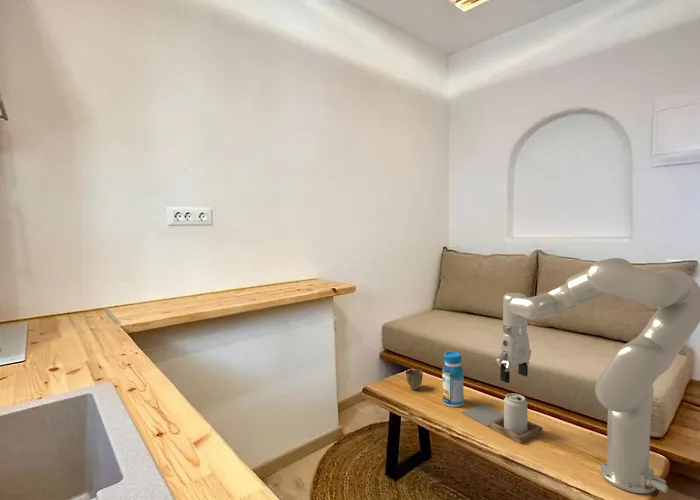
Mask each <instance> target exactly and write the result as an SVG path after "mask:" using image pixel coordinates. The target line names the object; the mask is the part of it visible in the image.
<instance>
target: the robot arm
mask: <svg viewBox="0 0 700 500" xmlns="http://www.w3.org/2000/svg"><path fill="white" fill-rule="evenodd" d="M607 295H609V296H613V297H614V298H615V297H616V298H620V299H622V300H626V301H629V302H632V303H635V304H639V305H643V306H646V307H650V308H656V309H657V308H658V309H657V310H656V311H655V313H653V315H652V316H651V318H649V321H648V322H647V323H646V326H645V327H644V328H643V330H642V331H641V332H640V333H639V334H638V335H637V337H635V338H634V339H632V340H630V341H628V342H627V343H625V344H624V345H621V347H619V349H618V350H617V351H616V352H615V353H614V355H613V356H612V358H611V360H610V361H609V363H608V364H607V366H606V367H605V368H604V370H603V371H602V372H601V374H600V376H599V377H598V379H597V380H596V383H595V386H594V387H595V388H594V391H595V395H596V398H597V400H598V402H599V403H600V404H601V406H602V407H604V408H605V409H607V429H606V430H607V432H606V433H607V434H606V436H607V437H606V438H607V440H606V444H607V445H606V456H607V457H606V458H607V459H606V461H605V462H604V463H602V464H601V466H600V470H599V471H600V474H601V476H602V477H603V478H604V479H605V480H606V481H607V482H608V483H609V484H611V485H613V486H615V487H617V488H618V489H621V490H623V491H627V492H630V493H633V494H634V493H635V494H642V495H644V494H651V493H653V492H655V491H656V490H658V491H660V492H662V493H664V494H667V492H668V489H669V487H668V485H667V481H666V480H665V479H662V478H661V477H658V476H656V474H655V473H654V471H655V469H654V468H653V467H651V466H650V459H651V458H650V454H651V453H650V452H651V451H650V449H651V448H650V445H651V440H650V439H651V419H652V418H651V415H652V405H653V400H654V383H655V382H656V380H658V378H659V377H660V376H661V375H662V374H664V373H666V372H667V370H669V368H671V365H673V362H674V360H675V359H676V357H677V356H678V355H679V353H680V352H681V350H682V349H683V348H684V346H685V345H686V343H687V342H688V341H689V339H690V337H691V336H692V335H693V333H694V332H695V330H697V328H698V326H699V324H700V286H699V284H698V283H697V281H696V280H695V279H694V278H693V277H692V276H691V275H689V274H688V273H687V272H685V271H682V270H679V269H674V268H672V269H671V268H667V269H660V270H656V271H649V270H646V269H645V270H644V269H641V268H636V267H634V265H633V264H632V263H631V261H629V260H627V259H625V258H622V257H612V258H605V259H601V260H598V261H595V262H593V264H591V265H590V267H589V268H587V269H585V270H583V271H581V272H578V273H577V274H574V275H572V276H570V277H568V278H567V279H566V282H565V283H564V284H562V285H560V286H558V287H557V288H555V289H552V290H550V291H547V292H544V293H543V294H539V295H534V296H530V297H527V295H525V294H523V293H521V292H520V293H519V292H509V293H508V292H507V293H505V294H504V295H503V298H502V299H503V301H502V304H503V305H502V306H503V309H502V336H501V341H500V342H501V343H500V355H499V356H498V357H497V358H496V363H497V367H498V369H499V370H500V373H499V374H500V381H501V382H503V383H506V384H509V383H510V379H511V377H510V373H511V372H510V368H511V366H512V367H515V366H518V367H517V368H518V375H521V376H523V377H528V370H529V368H528V366H529V364H530V362H529V361H530V360H531V355H532V354H531V353H532V349H530V339H529V334H528V321H531V322H537V321H541V320H544V319H547V318H550V317H553V316H556V315H558V314H560V313H563V312H565V311H568V310H570V309H573V308H575V307H577V306H580V305H581V306H582V305H585V304H587V303H590V302H592V301H595V300H597V299H600V298H602V297H604V296H607Z"/></svg>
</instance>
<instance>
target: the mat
mask: <svg viewBox="0 0 700 500" xmlns="http://www.w3.org/2000/svg"><path fill="white" fill-rule="evenodd" d="M461 414H462V415H463V416H466V417H468V418H470V419H472V420H473V421H475V422H477V423H479V424H481V425H484V426H485V427H486V428H488V427H490V422H492V421H494V420H497V419H499V418H501V417H504V412H501V411H500V410H497V409H495V408H492V407H491V406H488V405H486V404H484V403H482V404H479V405H476V406H474V407H471V408H469V409H467V410H464V411H461Z"/></svg>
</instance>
